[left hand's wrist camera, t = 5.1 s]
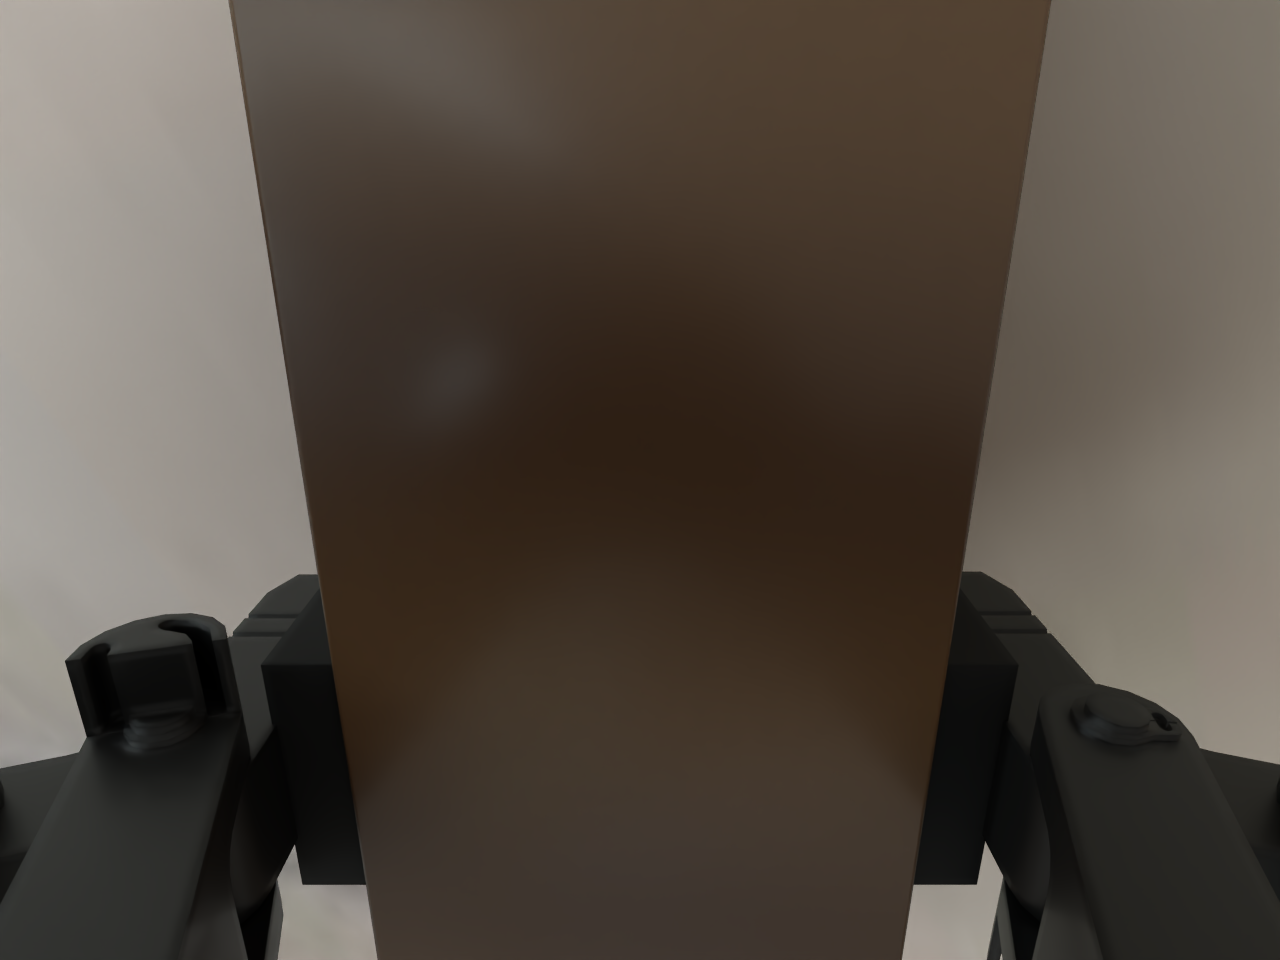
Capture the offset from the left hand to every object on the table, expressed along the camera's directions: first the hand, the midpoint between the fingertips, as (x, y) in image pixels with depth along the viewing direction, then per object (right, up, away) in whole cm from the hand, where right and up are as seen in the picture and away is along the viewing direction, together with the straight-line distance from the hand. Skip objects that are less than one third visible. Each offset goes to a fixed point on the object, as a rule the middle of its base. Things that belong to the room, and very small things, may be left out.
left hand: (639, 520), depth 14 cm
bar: (0, +21, -7) cm, 22 cm away
